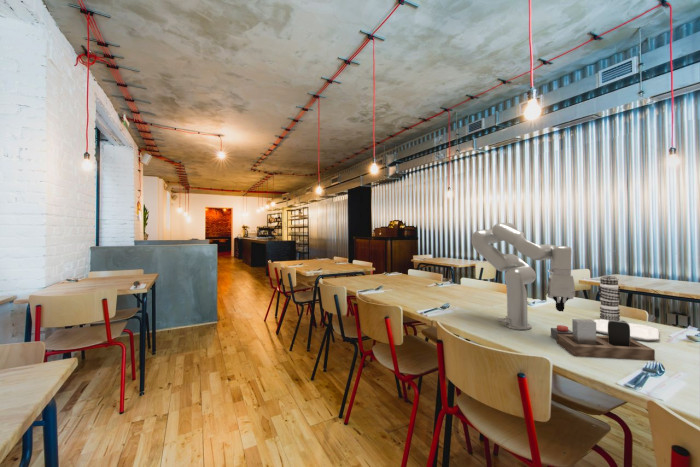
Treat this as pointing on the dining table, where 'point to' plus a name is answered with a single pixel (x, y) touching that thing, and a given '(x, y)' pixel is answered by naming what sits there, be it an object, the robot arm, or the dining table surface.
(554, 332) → the button housing
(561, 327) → the button
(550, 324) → the dining table surface
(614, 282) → the decorative candle
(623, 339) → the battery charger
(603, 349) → the wooden sorting tray
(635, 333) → the plate
